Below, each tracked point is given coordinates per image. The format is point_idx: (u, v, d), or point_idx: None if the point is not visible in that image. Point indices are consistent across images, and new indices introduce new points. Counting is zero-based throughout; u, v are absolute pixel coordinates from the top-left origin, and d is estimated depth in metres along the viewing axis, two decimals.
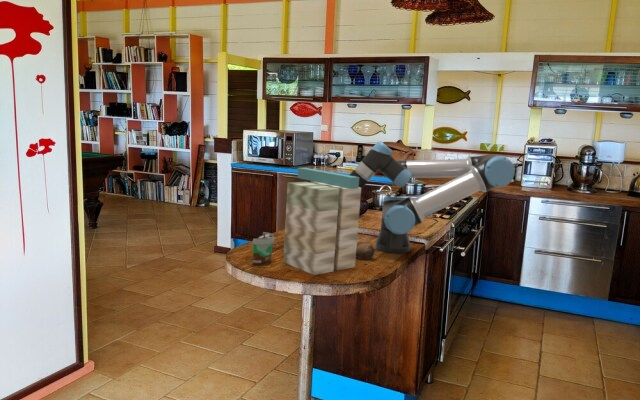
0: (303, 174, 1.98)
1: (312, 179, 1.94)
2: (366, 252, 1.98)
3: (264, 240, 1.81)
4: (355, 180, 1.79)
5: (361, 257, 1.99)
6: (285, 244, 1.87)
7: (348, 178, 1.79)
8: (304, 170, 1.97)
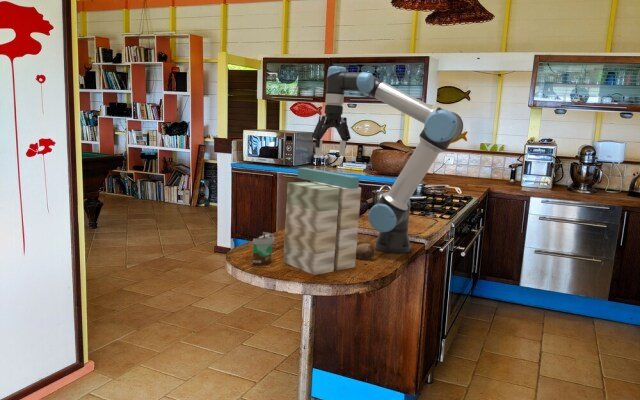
0: (303, 174, 1.98)
1: (312, 179, 1.94)
2: (366, 252, 1.98)
3: (264, 240, 1.81)
4: (355, 180, 1.79)
5: (361, 257, 1.99)
6: (285, 244, 1.87)
7: (348, 178, 1.79)
8: (304, 170, 1.97)
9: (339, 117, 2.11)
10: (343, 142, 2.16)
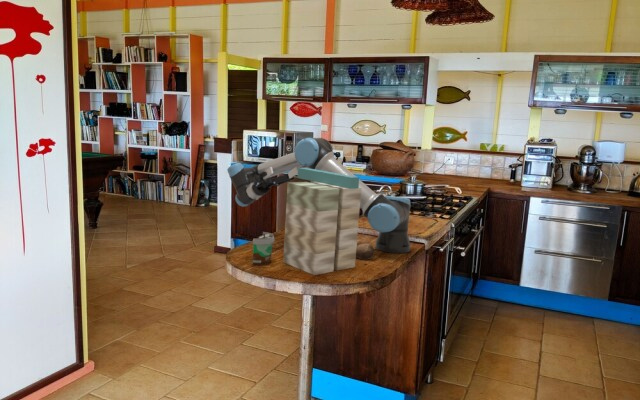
0: (303, 174, 1.98)
1: (312, 179, 1.94)
2: (366, 252, 1.98)
3: (264, 240, 1.81)
4: (355, 180, 1.79)
5: (361, 257, 1.99)
6: (285, 244, 1.87)
7: (348, 178, 1.79)
8: (304, 170, 1.97)
9: None
10: (288, 173, 2.18)
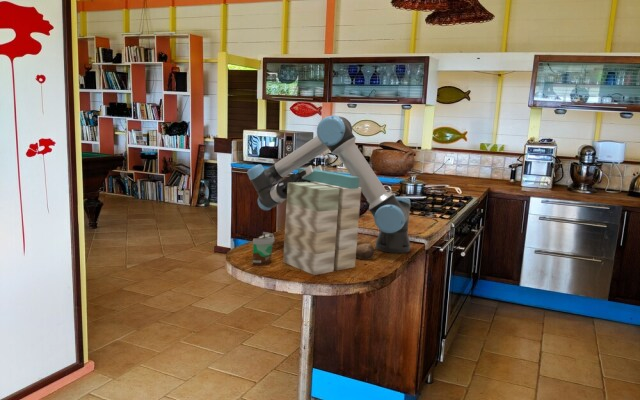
0: None
1: (312, 179, 1.94)
2: (366, 252, 1.98)
3: (264, 240, 1.81)
4: (355, 180, 1.79)
5: (361, 257, 1.99)
6: (285, 244, 1.87)
7: (348, 178, 1.79)
8: None
9: None
10: None
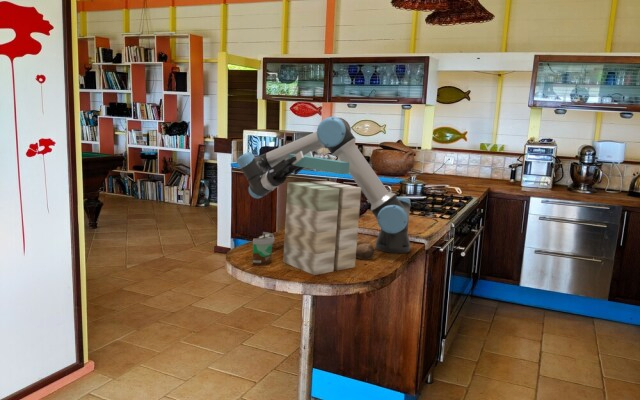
0: None
1: (302, 165, 1.90)
2: (366, 252, 1.98)
3: (264, 240, 1.81)
4: (345, 165, 1.76)
5: (361, 257, 1.99)
6: (285, 244, 1.87)
7: (338, 163, 1.75)
8: None
9: None
10: None
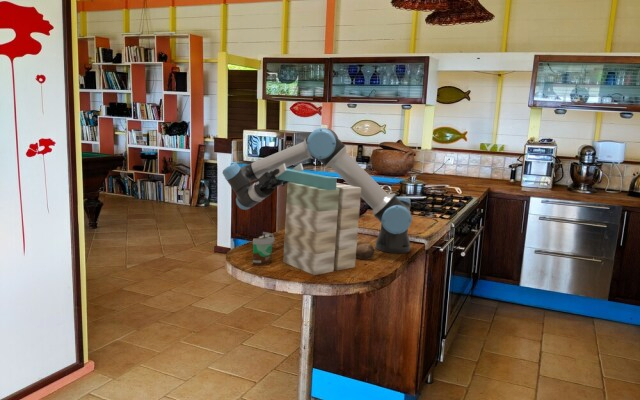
0: (281, 175, 1.90)
1: (289, 179, 1.87)
2: (366, 252, 1.98)
3: (264, 240, 1.81)
4: (332, 181, 1.72)
5: (361, 257, 1.99)
6: (285, 244, 1.87)
7: (325, 179, 1.72)
8: None
9: None
10: None
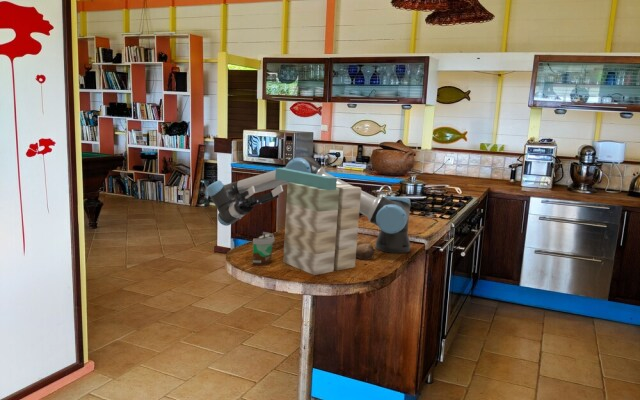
0: (281, 175, 1.90)
1: (289, 179, 1.87)
2: (366, 252, 1.98)
3: (264, 240, 1.81)
4: (332, 181, 1.72)
5: (361, 257, 1.99)
6: (285, 244, 1.87)
7: (325, 179, 1.72)
8: (282, 170, 1.90)
9: None
10: (272, 191, 2.08)
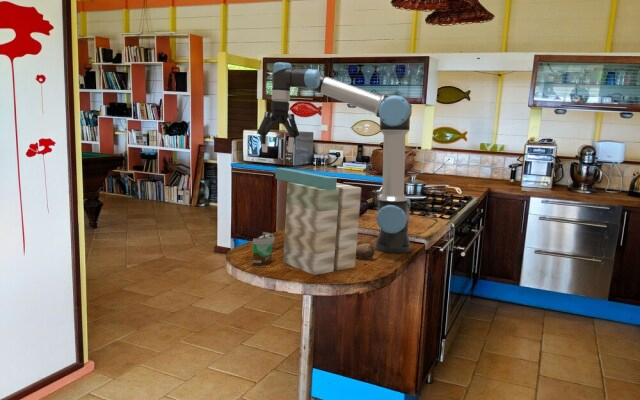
0: (281, 175, 1.90)
1: (289, 179, 1.87)
2: (366, 252, 1.98)
3: (264, 240, 1.81)
4: (332, 181, 1.72)
5: (361, 257, 1.99)
6: (285, 244, 1.87)
7: (325, 179, 1.72)
8: (282, 170, 1.90)
9: (286, 113, 2.11)
10: (291, 138, 2.15)
